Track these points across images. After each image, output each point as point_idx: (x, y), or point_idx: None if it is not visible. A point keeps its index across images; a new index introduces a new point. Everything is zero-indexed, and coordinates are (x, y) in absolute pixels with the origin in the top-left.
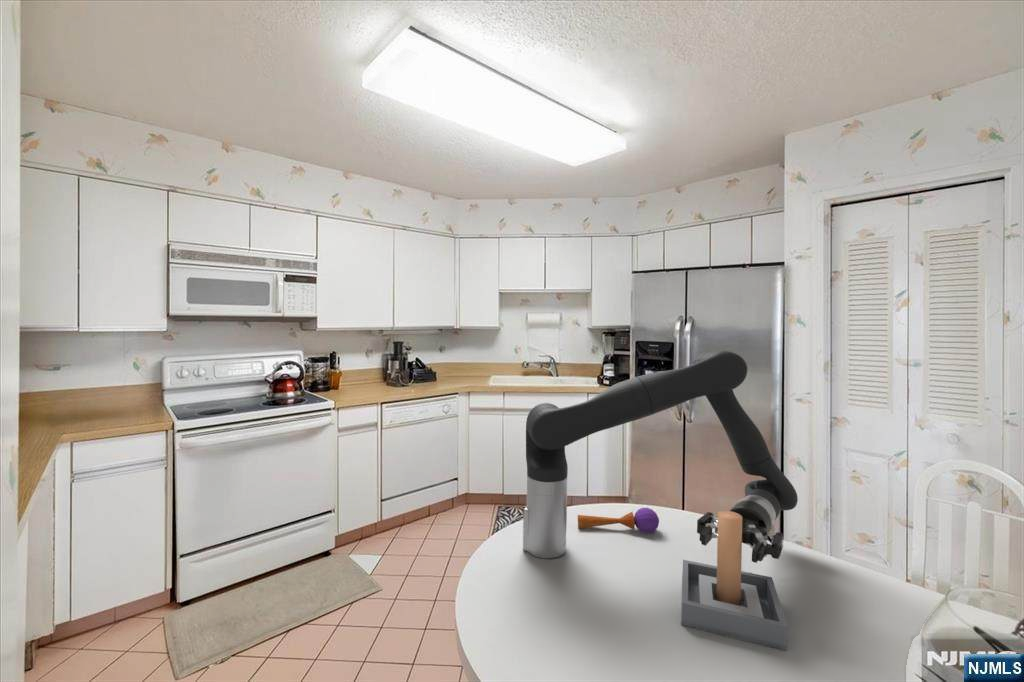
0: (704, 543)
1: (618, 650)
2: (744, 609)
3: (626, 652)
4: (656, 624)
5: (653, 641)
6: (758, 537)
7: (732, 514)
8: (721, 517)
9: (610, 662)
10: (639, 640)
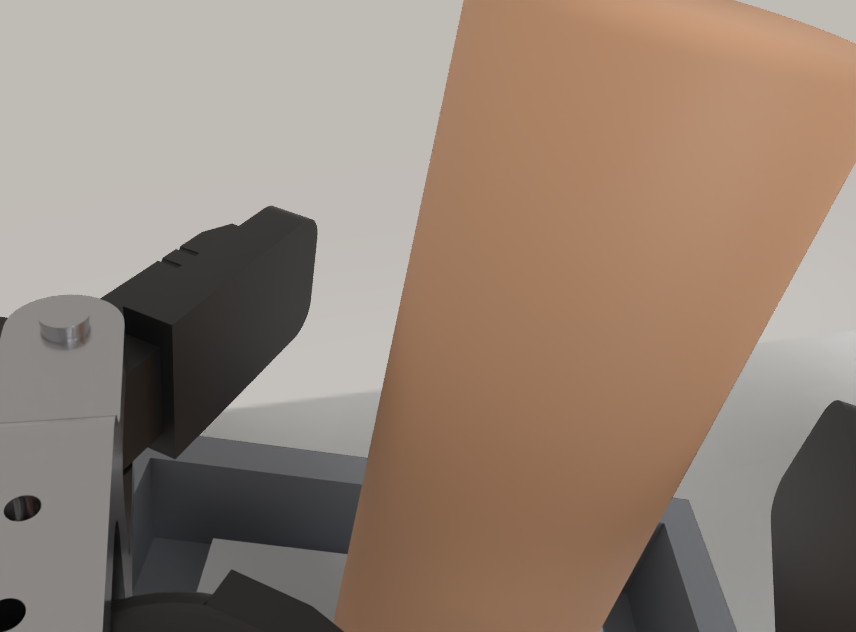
0: (792, 473)
1: (789, 410)
2: (316, 596)
3: (763, 407)
4: (744, 561)
5: (709, 465)
6: (78, 414)
7: (648, 13)
8: (771, 14)
9: (779, 370)
10: (756, 460)
